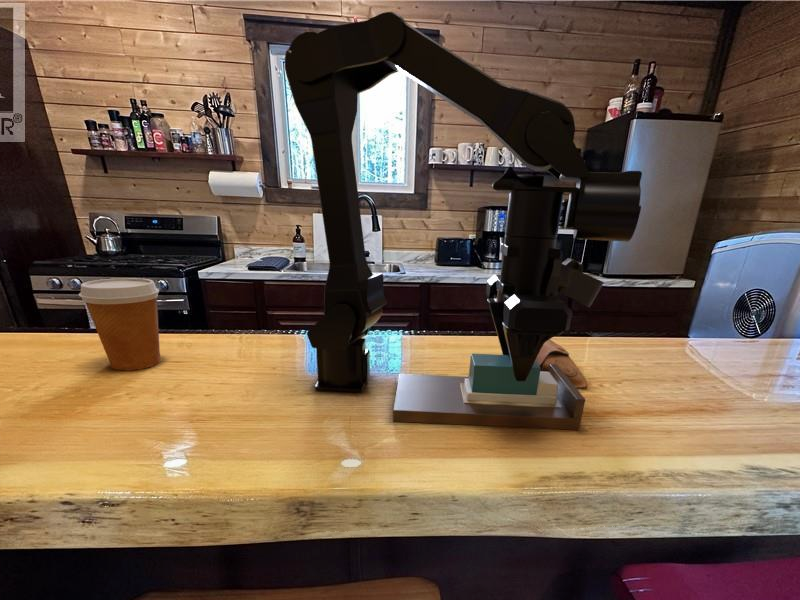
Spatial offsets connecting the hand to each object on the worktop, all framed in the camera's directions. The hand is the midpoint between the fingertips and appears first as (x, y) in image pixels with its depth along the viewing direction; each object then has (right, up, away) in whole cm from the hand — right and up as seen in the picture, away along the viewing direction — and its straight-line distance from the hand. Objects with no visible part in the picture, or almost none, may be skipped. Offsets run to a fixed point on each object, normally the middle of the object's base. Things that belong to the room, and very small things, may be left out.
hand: (513, 367), depth 54 cm
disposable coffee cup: (-55, +1, +11) cm, 56 cm away
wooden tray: (-4, -5, +2) cm, 6 cm away
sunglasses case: (+9, +1, +17) cm, 19 cm away
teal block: (0, -3, +1) cm, 4 cm away
